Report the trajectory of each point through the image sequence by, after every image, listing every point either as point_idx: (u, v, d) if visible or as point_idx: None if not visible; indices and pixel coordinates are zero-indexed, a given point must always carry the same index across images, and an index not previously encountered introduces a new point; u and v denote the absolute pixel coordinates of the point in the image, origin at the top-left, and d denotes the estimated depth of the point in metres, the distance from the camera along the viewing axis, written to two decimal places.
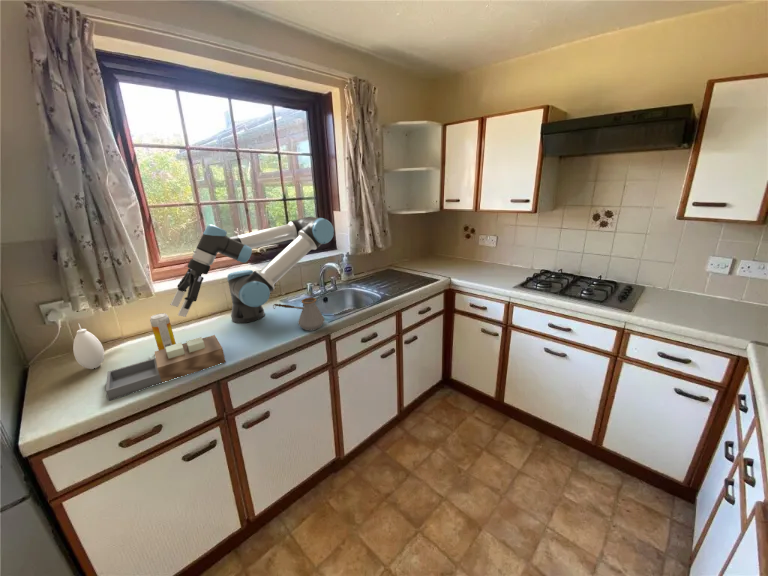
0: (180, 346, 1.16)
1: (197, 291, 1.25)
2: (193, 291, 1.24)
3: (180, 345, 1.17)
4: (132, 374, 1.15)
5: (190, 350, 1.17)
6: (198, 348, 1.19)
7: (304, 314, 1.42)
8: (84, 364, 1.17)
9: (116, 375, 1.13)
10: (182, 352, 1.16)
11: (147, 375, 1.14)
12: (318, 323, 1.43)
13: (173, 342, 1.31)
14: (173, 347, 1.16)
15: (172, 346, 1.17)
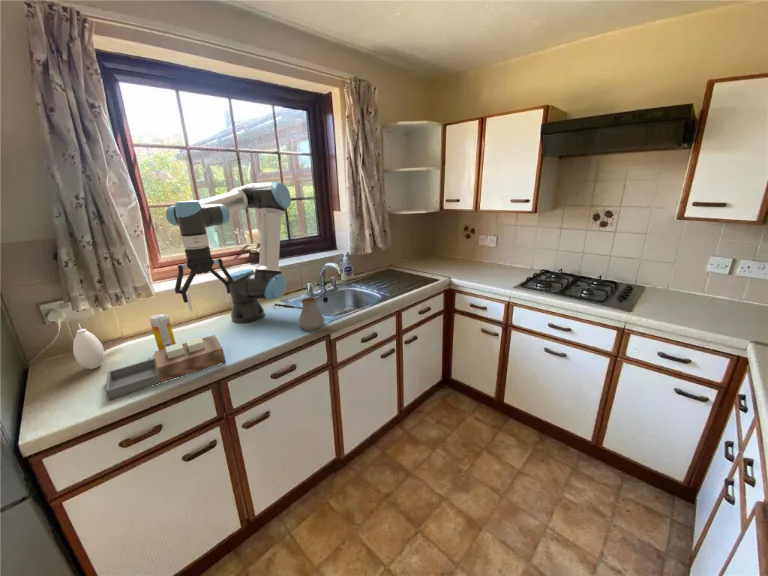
0: (180, 346, 1.16)
1: None
2: (229, 274, 1.21)
3: (180, 345, 1.17)
4: (132, 374, 1.15)
5: (190, 350, 1.17)
6: (198, 348, 1.19)
7: (304, 314, 1.42)
8: (84, 364, 1.17)
9: (116, 375, 1.13)
10: (182, 352, 1.16)
11: (147, 375, 1.14)
12: (318, 323, 1.43)
13: (173, 342, 1.31)
14: (173, 347, 1.16)
15: (172, 346, 1.17)
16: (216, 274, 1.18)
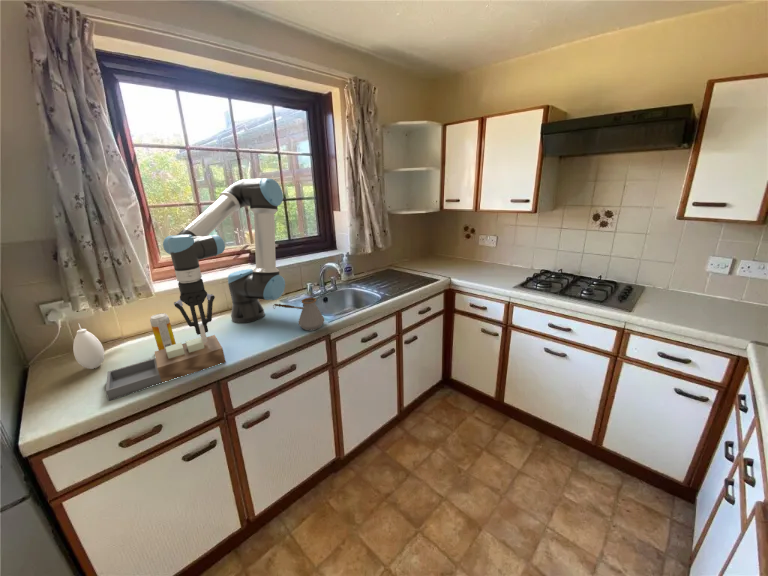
0: (180, 346, 1.16)
1: None
2: None
3: (180, 345, 1.17)
4: (132, 374, 1.15)
5: (189, 350, 1.17)
6: (197, 348, 1.18)
7: (304, 314, 1.42)
8: (84, 364, 1.17)
9: (116, 375, 1.13)
10: (182, 352, 1.16)
11: (147, 375, 1.14)
12: (318, 323, 1.43)
13: (173, 342, 1.31)
14: (173, 347, 1.16)
15: (172, 346, 1.17)
16: (201, 310, 1.17)
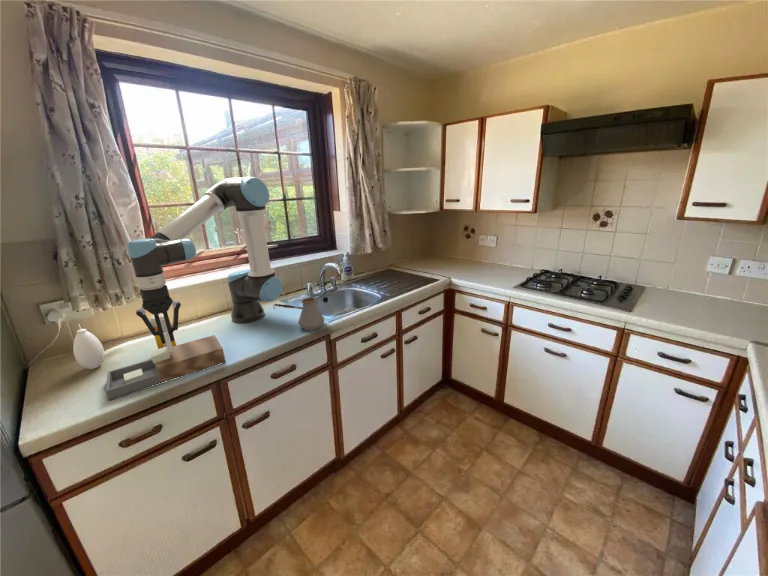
0: None
1: None
2: None
3: None
4: None
5: (154, 361, 1.11)
6: (162, 358, 1.12)
7: (304, 314, 1.42)
8: (84, 364, 1.17)
9: (116, 375, 1.13)
10: (127, 381, 1.08)
11: (147, 375, 1.14)
12: (318, 323, 1.43)
13: (173, 342, 1.31)
14: None
15: None
16: (166, 318, 1.11)
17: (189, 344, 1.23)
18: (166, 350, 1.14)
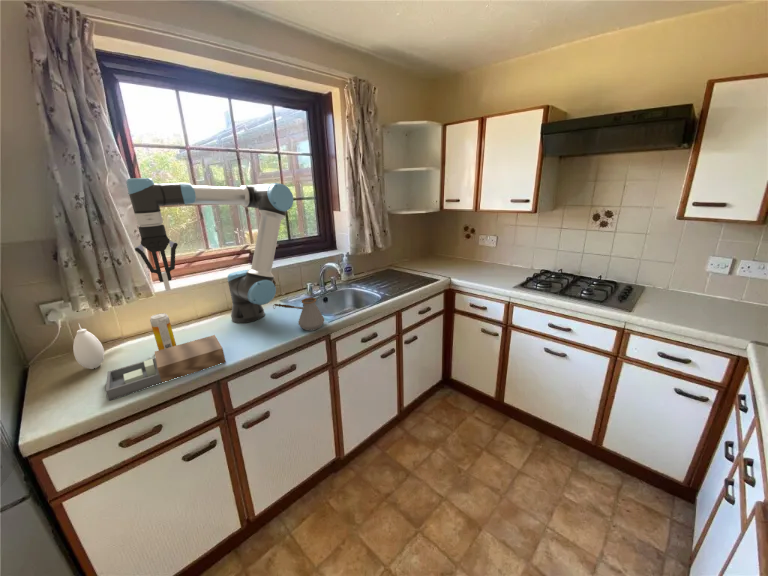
0: None
1: None
2: (174, 260, 1.20)
3: None
4: None
5: None
6: (153, 370, 1.11)
7: (304, 314, 1.42)
8: (84, 364, 1.17)
9: (116, 375, 1.13)
10: (127, 381, 1.08)
11: None
12: (318, 323, 1.43)
13: (173, 342, 1.31)
14: None
15: None
16: (164, 256, 1.17)
17: (189, 344, 1.23)
18: None
